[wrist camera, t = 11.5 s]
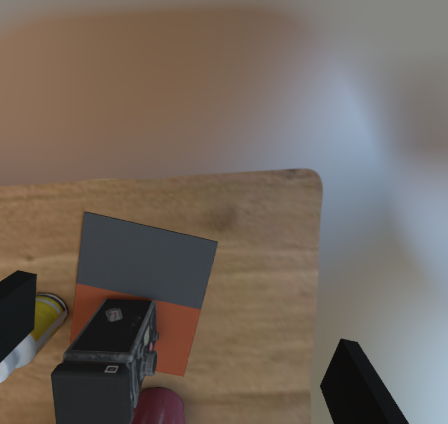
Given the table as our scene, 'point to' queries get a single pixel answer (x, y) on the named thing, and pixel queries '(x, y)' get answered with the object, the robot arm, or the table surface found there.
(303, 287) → the table surface
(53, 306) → the pill bottle
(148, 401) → the flower pot
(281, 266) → the table surface
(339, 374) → the robot arm
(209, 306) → the table surface
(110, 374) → the camera
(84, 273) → the desk mat
